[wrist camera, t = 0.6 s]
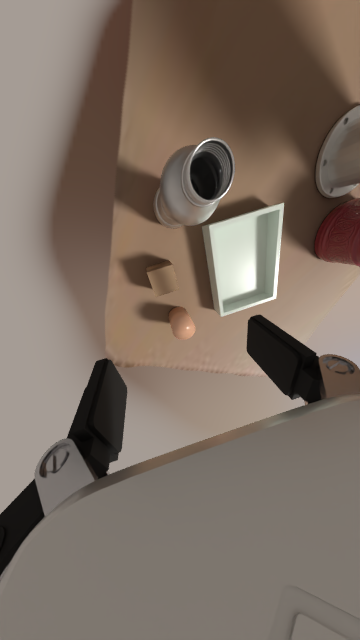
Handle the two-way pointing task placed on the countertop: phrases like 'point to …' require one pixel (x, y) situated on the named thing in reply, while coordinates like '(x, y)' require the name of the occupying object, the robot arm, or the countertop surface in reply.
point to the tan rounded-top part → (181, 323)
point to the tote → (244, 258)
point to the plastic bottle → (194, 183)
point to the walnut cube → (162, 278)
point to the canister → (340, 235)
